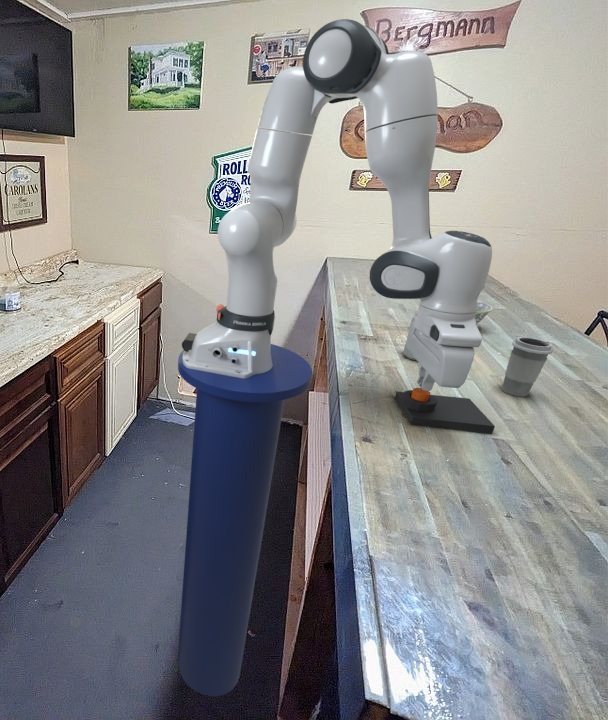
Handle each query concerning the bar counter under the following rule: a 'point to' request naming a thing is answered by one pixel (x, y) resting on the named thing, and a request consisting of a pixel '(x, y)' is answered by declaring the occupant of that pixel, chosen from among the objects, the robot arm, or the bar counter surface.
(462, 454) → the bar counter surface
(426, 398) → the tare button
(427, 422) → the black flat block
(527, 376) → the cup
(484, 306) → the bowl
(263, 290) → the robot arm
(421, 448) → the bar counter surface
